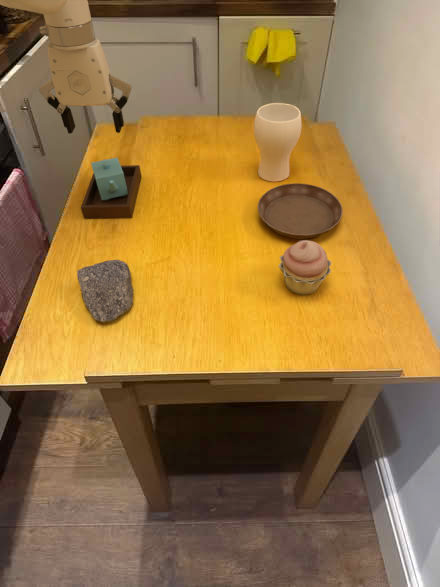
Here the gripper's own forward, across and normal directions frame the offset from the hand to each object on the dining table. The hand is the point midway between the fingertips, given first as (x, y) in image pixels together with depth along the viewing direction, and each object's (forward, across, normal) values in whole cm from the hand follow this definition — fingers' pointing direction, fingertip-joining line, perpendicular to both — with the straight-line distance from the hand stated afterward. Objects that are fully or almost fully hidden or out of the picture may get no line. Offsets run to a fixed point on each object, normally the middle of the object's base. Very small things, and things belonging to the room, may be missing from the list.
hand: (95, 130), depth 83 cm
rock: (+17, +6, -31) cm, 36 cm away
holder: (+16, 0, +1) cm, 16 cm away
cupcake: (+16, +40, -28) cm, 52 cm away
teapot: (+16, 0, 0) cm, 16 cm away
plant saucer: (+16, +42, -9) cm, 46 cm away
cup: (+16, +38, +9) cm, 43 cm away
